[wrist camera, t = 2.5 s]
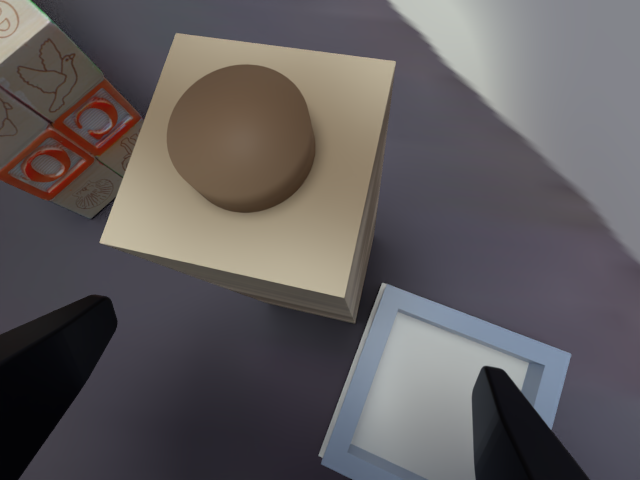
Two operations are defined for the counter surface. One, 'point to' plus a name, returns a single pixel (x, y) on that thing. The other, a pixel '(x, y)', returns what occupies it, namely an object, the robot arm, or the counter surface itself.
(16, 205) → the counter surface
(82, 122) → the stack of blocks
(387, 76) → the maple pillar block
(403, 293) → the blue square tray
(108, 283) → the counter surface
